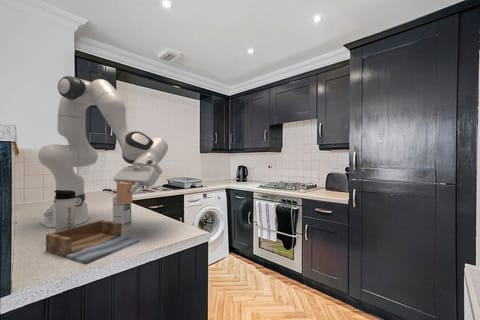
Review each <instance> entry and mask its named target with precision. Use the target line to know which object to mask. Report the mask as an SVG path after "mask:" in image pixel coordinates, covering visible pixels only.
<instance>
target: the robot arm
mask: <svg viewBox="0 0 480 320" xmlns="http://www.w3.org/2000/svg"><path fill="white" fill-rule="evenodd" d="M57 90H58V93H59V95H60V96H61V98H60V101H59V105H58V110H57V127H56V128H57V133H58V134H59V135H60V136H62V137H63V138H65V139H66V141H67V143H68V144H48V145H43V147H41V148H40V149H39V151H38V153H37V154H38V155H37V158H38V161H39V162H40V164H41V165H43V167H46V168H47V169H48V170H50V172H51V173H52V176H53V177H54V179H55V181H54V182H55V190H69V191H75V197H76V198H75V200H76V208H75V226H76V225H80V224H81V225H82V224H83V223H84V224H85V223H86V222H88V221H89V220H90V219H91V216H90V215H89V212H88V211H89V210H88V204H87V202H86V194H85V180H84V178H83V176H81V175H79V174H77V173H76V172H75V169H74V168H81V167H84V168H85V167H88V166H92V165H95V163H97V160H98V159H99V158H98V157H99V156H98V151H97V150H96V149H95V148H94V147H92V145H91V144H90V142H89V140H88V138H87V134H86V133H87V132H86V118H87V117H86V113H87V112H86V111H87V109H88V108H89V107H90V108H91V109H95V108H98V109H99V111H100V113H101V114H102V116H103V118H104V119H105V121H106V122H107V124H108V126H109V127H110V128H111V131H112V133H113V135H114V137H115V138H116V140H117V142H118V144H119V145H120V147H121V151H122V152H121V155H122V159H123V160H124V161H125V162H126V163H127V164H130V165H128V166H125V167H122V168H121V169H120V170H119V171H118V172H117V173H116V174H115V175H114V177H113V180H114V182H115V183H116V184H117V183H122V182H127V183H132V188H129V190H128V192H129V193H131V194H132V195H134V193H135V192H136V191H137V190H139V189H140V188H141V187H153V186H155V184H156V183H157V182H158V179H159V178H160V176H161V175H162V173H163V170H162V168H161V167H160V166H159V163H161V162H162V161H163V159H164V157H165V156H166V154H167V153H168V150H169V145H168V143H167V141H166V140H165V139H164V138H162V137H160V136H151V135H147V134H145V133H144V132H141V131H137V130H133V131H129V129H128V126H127V114H126V113H127V110H126V109H127V108H126V105H125V102H124V100H123V98H122V97H121V95H120V94H119V92H118V91H117V90H116V89H115V87H114V86H113V85H112V84H111V83H110V82H109V81H108V80H105V79H102V78H97V79H94V80H93V81H89V80H84V79H81V78H78V77H76V76H71V75H70V76H68V75H66V76H63V77H62V78H60V79H59V81H58V83H57ZM53 197H54V198H53V204H52V205H51V206H50V207H48V208H47V210H46V211H45V212H44V213H43V216H44V219H41V220H39V222H38V223H39V224H41V225H42V226H44V227H46V228H48V229H51V228H55V201H56V200H55V199H56V195H54V196H53Z"/></svg>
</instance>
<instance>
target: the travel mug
mask: <svg viewBox="0 0 480 320" xmlns="http://www.w3.org/2000/svg"><path fill="white" fill-rule="evenodd" d="M53 192H54V193H55V196H56V199H55V200H56V201H55V227H54V228H55V229H54V230H55V231H54V232H58V231H61V230H65V229H69V228H73V227H76V225H75V208H76V200H75V198H76V197H75V191H69V190H56V189H55V190H53Z"/></svg>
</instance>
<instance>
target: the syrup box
mask: <svg viewBox="0 0 480 320" xmlns="http://www.w3.org/2000/svg"><path fill="white" fill-rule="evenodd" d="M112 222H116V223H122V228H125V227H127V226H130V225H131V224H132V203H130V204H119V203H117V195H116V196H112Z"/></svg>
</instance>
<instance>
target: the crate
mask: <svg viewBox="0 0 480 320" xmlns="http://www.w3.org/2000/svg"><path fill="white" fill-rule="evenodd" d="M122 228H123V227H122V223H116V222H113V221H109V220H104V219H100V220H97V221H93V222H90V223H89V222H88V223H86V224H85V223H84V224H81V225H78V226H75V227H73V228H69V229H65V230H61V231H58V232H55V231H53V232H51V233H50V232H49V233H46V234H45V253H49V254H51V255H52V254H53V255H55V256H58V257H62V258H65V259H67V260H71V261H74V262H78V263H80V264H82V265H83V264H84V265H88V264H90V263H92V262H95V261H97V260H99V259H102V258H105V257H107V256H110V255H111V254H114V253H117V252H118V251H121V250H124V249H126V248H129V247H132V246H133V245H136V244H138V243H140V239H139V238H134V237H128V236H125V235H122V232H123V231H122Z"/></svg>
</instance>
